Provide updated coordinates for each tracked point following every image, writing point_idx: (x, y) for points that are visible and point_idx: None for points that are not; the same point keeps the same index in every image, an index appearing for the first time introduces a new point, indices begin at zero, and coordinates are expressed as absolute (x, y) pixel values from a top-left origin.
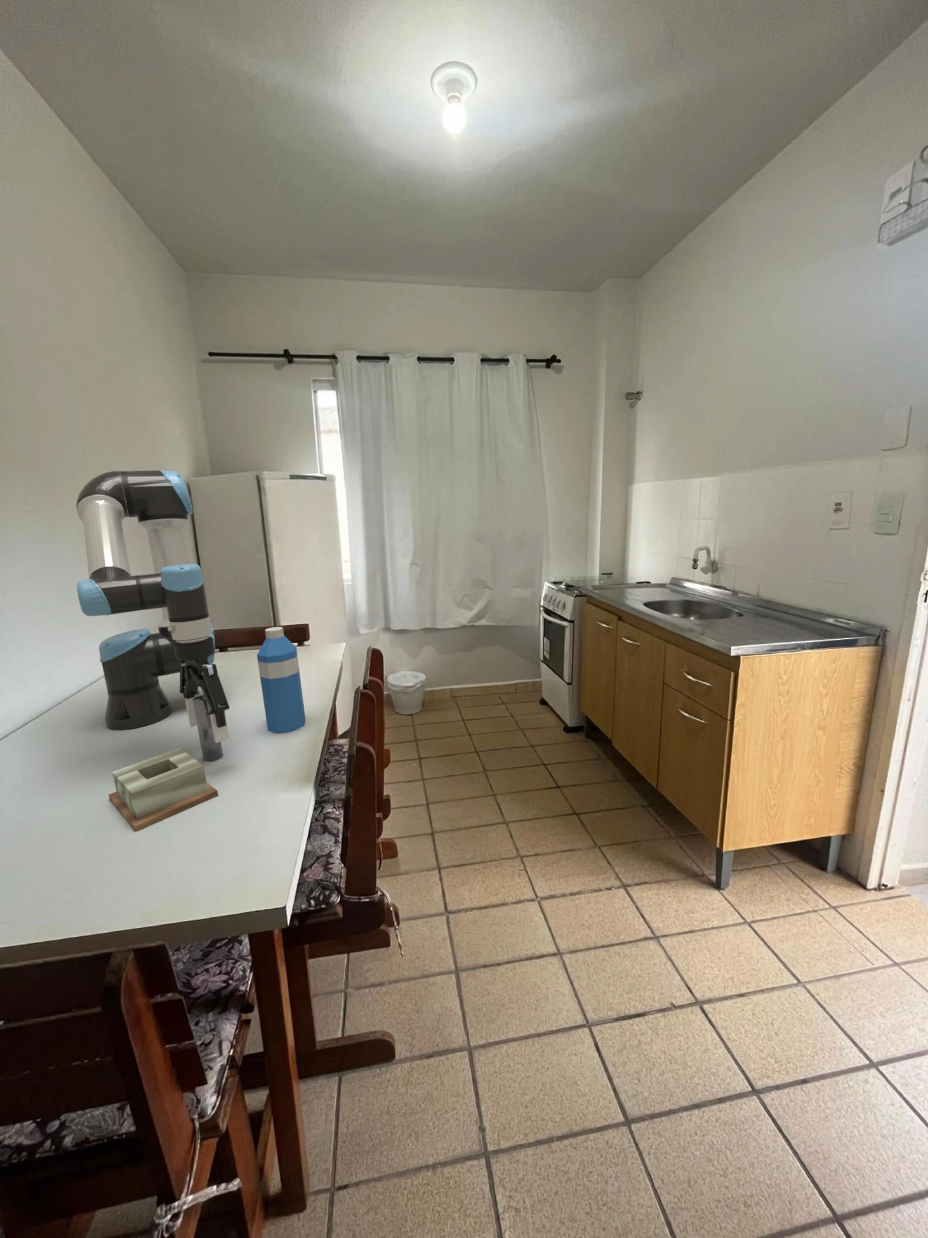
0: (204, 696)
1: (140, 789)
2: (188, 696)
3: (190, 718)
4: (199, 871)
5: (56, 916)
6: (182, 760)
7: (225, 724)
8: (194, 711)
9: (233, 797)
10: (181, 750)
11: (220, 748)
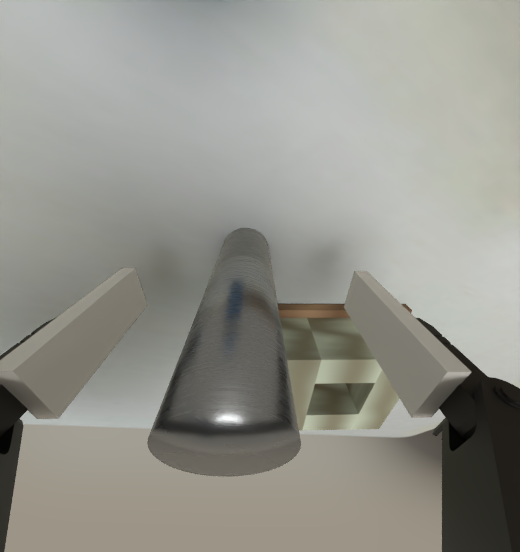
0: (195, 439)
1: (379, 422)
2: (10, 420)
3: (128, 325)
4: (510, 367)
5: (415, 425)
6: (353, 373)
7: (426, 324)
8: (105, 328)
9: (439, 291)
10: (299, 362)
11: (265, 245)
